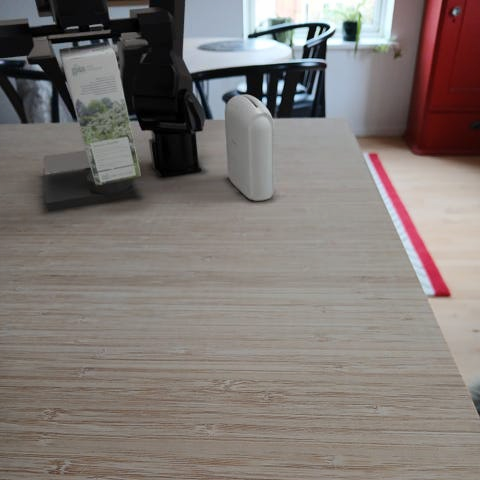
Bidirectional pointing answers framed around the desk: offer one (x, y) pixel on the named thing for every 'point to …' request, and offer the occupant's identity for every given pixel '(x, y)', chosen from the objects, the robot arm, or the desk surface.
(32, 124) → the desk surface
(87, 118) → the syrup box
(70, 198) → the dark grey flat piece
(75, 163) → the weighing pan
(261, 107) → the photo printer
